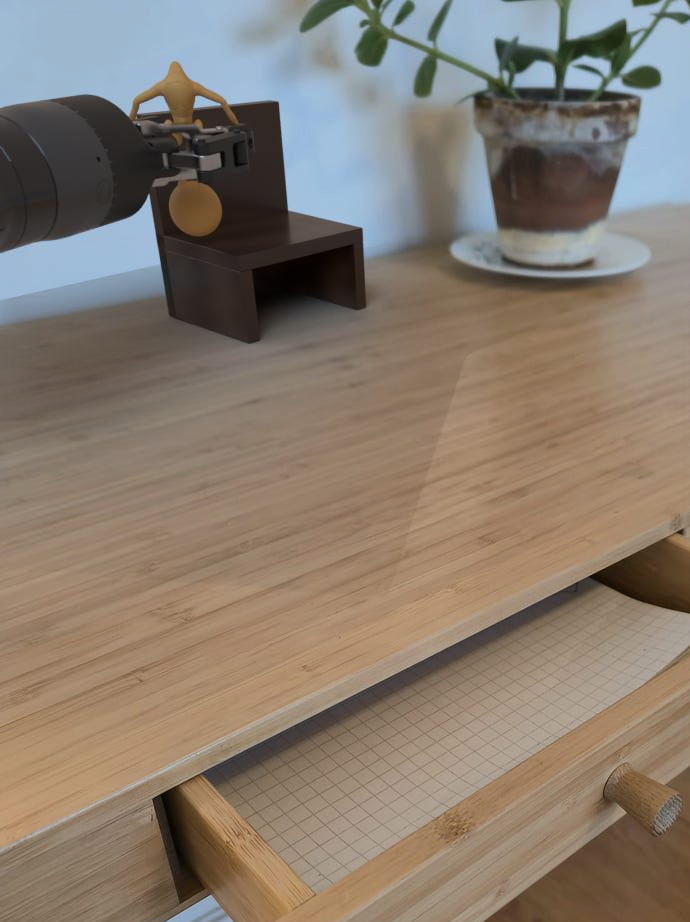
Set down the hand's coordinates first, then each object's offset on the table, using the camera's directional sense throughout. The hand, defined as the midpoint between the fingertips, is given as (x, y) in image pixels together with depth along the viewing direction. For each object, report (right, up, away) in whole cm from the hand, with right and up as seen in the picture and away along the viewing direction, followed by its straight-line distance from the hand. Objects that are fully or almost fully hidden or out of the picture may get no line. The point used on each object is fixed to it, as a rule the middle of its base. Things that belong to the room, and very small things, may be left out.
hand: (203, 135), depth 73 cm
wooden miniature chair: (+2, -8, +15) cm, 17 cm away
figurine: (-1, -7, +3) cm, 8 cm away
